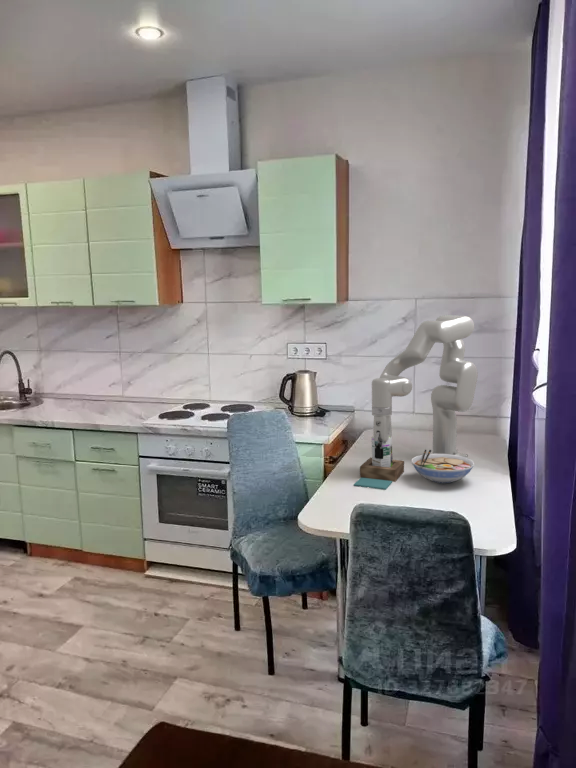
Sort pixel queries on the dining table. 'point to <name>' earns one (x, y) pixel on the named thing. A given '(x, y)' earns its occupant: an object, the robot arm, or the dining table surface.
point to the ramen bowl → (442, 467)
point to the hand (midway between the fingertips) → (382, 455)
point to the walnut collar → (382, 470)
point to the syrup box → (386, 454)
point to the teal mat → (373, 483)
